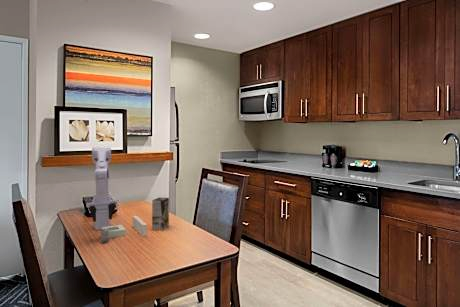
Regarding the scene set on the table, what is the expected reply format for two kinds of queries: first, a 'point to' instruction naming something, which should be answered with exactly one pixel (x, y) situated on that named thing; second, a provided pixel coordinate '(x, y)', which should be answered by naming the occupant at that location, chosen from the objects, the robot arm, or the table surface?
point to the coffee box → (160, 213)
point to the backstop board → (140, 226)
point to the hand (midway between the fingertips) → (102, 220)
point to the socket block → (115, 231)
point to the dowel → (105, 236)
